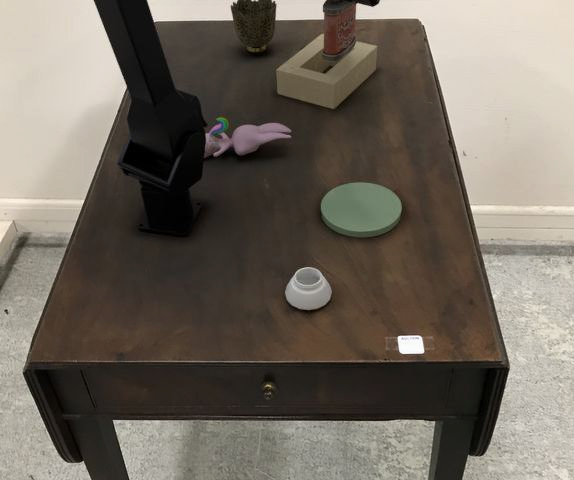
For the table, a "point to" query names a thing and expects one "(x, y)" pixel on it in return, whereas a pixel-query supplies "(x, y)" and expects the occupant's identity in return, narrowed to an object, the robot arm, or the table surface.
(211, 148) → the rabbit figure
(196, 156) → the robot arm
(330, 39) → the lighter
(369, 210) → the plate
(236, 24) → the cup
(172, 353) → the table surface
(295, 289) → the white jar
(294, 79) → the hollow beige frame
